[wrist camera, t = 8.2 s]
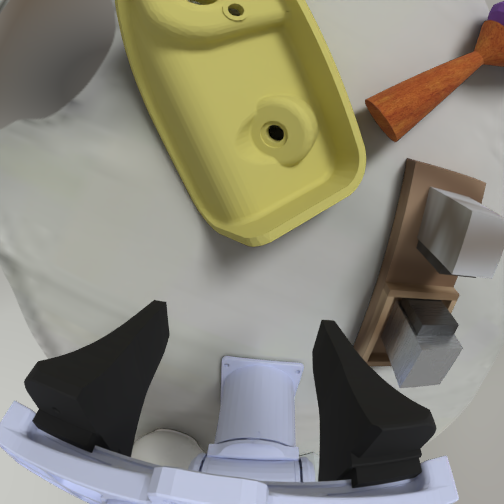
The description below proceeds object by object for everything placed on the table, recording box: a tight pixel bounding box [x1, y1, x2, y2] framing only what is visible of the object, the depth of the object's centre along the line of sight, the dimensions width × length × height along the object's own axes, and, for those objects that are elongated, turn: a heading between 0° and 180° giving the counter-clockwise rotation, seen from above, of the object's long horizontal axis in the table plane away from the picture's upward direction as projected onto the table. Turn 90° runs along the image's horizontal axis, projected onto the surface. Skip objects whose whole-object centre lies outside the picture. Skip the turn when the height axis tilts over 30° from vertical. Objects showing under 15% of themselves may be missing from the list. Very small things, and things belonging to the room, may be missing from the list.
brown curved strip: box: [131, 429, 204, 469], centre depth 32 cm, size 13×13×11 cm
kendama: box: [365, 1, 504, 142], centre depth 12 cm, size 6×6×20 cm
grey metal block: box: [381, 298, 463, 388], centre depth 20 cm, size 5×4×6 cm
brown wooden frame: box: [353, 158, 504, 366], centre depth 19 cm, size 18×7×7 cm, turn 175°
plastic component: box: [115, 0, 366, 247], centre depth 15 cm, size 20×7×10 cm
